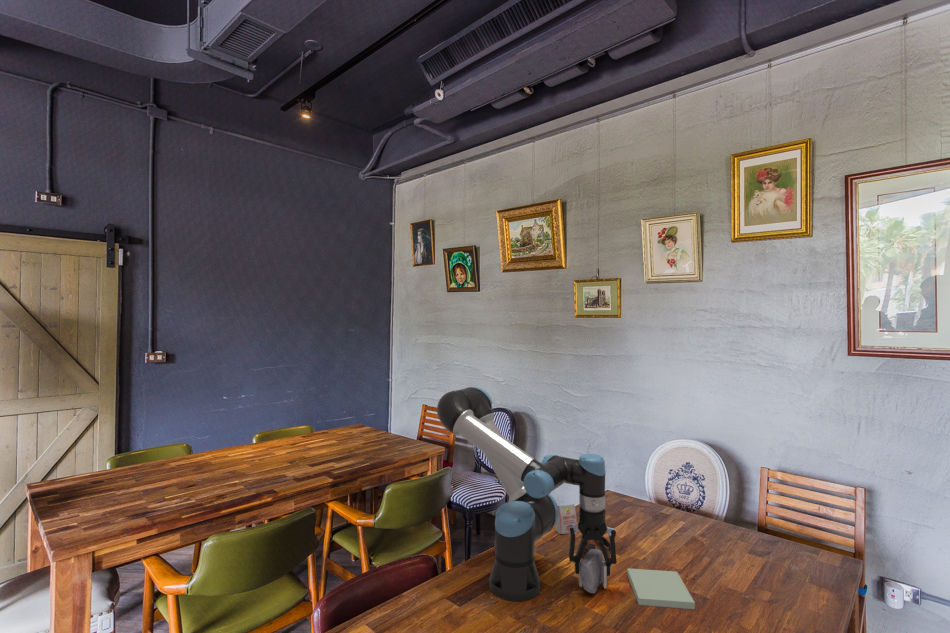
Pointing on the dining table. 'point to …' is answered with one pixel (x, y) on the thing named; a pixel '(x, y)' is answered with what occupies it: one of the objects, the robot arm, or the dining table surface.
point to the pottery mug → (594, 543)
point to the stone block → (592, 570)
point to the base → (660, 589)
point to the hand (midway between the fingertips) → (592, 584)
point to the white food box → (566, 518)
